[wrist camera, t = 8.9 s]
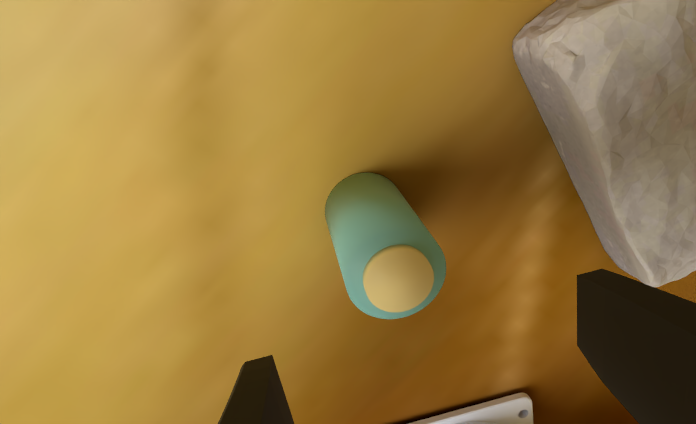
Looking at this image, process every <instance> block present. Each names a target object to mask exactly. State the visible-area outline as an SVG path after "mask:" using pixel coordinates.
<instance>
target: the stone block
mask: <svg viewBox="0 0 696 424" xmlns="http://www.w3.org/2000/svg"><path fill="white" fill-rule="evenodd" d="M512 48H513V54H514V59H515V61H516V64H517V66H518V68H519V71H520V73H521V76H522V78H523V80H524V82H525V84H526V86H527V88H528V90H529V92H530V94H531V96H532V98H533V100H534V102H535V104H536V106H537V108H538V111H539V113H540V115H541V117H542V119H543V121H544V123H545V125H546V127H547V129H548V131H549V133H550V135H551V138H552V140H553V142H554V144H555V146H556V148H557V151H558V153H559V155H560V157H561V159H562V161H563V162H564V164H565V167H566V169H567V171H568V173H569V175H570V178H571V180H572V182H573V184H574V186H575V188H576V190H577V192H578V194H579V196H580V198H581V200H582V202H583V203H584V206H585V209H586V211H587V213H588V215H589V217H590V219H591V222H592V224H593V226H594V228H595V231H596V233H597V235H598V237H599V239H600V241H601V243H602V245H603V248H604V250H605V251H606V252H607V253H608V255H609V256H610V257H611V258H612V260H613V261H614V262H615V263H616V265H617V266H618V267H619V268H621V269H622V270H624V271H626V272H627V273H629V274H630V275H632V276H634V277H636V278H638V279H639V280H640V281H641V282H643V283H644V284H646V285H649V286H652V287H660V286H662V285H664V284H666V283H668V282H671V281H676V280H679V279H681V278H683V277H685V276H687V275H688V274H690V273H691V272H693V271H695V270H696V0H557V1H556V2H554V3H553V4H551V5H550V6H549V7H547V8H546V9H545V10H544V11H542V12H541V13H540V14H539V15H538V16H537V17H536V18H534V19H533V20H532V21H530V22H529V23H527V24H526V25H525V26H524V27H523V28H522V29H521V30H520V32H519V33H518V34H517V35H516V36H515V38H514V39H513V46H512Z"/></svg>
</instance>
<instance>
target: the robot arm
mask: <svg viewBox="0 0 696 424" xmlns="http://www.w3.org/2000/svg"><path fill="white" fill-rule="evenodd" d="M577 345H578V347H579V348H580V350H581V351H582V353H583V354H584V356H585V357H586V359H587V360H588V362H589V363H590V365H591V366H592V368H593V369H594V371H595V372H596V373H597V375H598V376H599V378H600V379H601V380H602V382H603V383H604V384H605V385H606V387H607V388H608V389H609V390H610V391H611V392H612V393H613V395H614V396H615V397H616V398H617V399H618V400H619V401H620V403H621V404H622V405H623V406H624V407H625V408H626V409H627V410H628V412H629V413H630V414H631V415H632V416H633V417H634V418H635V419H636V420H637V422H638V423H639V424H696V303H694V302H691V301H689V300H686V299H683V298H681V297H678V296H675V295H673V294H670V293H667V292H665V291H662V290H659V289H657V288H654V287H652V286H649V285H646V284H644V283H641V282H638V281H636V280H633V279H630V278H628V277H625V276H622V275H619V274H616V273H613V272H610V271H607V270H604V269H599V270H595V271H592V272H588V273H584V274H580V275H577ZM218 424H294V421H293V418H292V415H291V412H290V409H289V406H288V403H287V400H286V397H285V394H284V390H283V387H282V384H281V381H280V378H279V375H278V372H277V369H276V366H275V363H274V359H273V356H272V355H270V356H266V357H263V358H259V359H255V360H251V361H247V362H245V363H244V365H243V366H242V367H241V370H240V373H239V375H238V378H237V381H236V383H235V386H234V388H233V391H232V393H231V395H230V398H229V400H228V402H227V405H226V407H225V409H224V412H223V414H222V416H221V418H220V420H219V422H218ZM408 424H533V405H532V400H531V399H530V397H529V396H528V395H527V394H526V393H517V394H513V395H510V396H506V397H502V398H499V399H495V400H491V401H488V402H484V403H481V404H477V405H473V406H470V407H466V408H462V409H459V410H455V411H452V412H448V413H444V414H441V415H437V416H434V417H430V418H426V419H423V420H419V421H415V422H412V423H408Z"/></svg>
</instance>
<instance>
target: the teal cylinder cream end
mask: <svg viewBox="0 0 696 424" xmlns="http://www.w3.org/2000/svg"><path fill="white" fill-rule="evenodd" d="M325 217H326V221H327V225H328V228H329V231H330V235H331V238H332V242H333V245H334V248H335V252H336V255H337V258H338V262H339V265H340V269H341V272H342V275H343V279H344V282H345V286H346V289H347V292H348V295H349V297H350V299H351V300H352V302H353V303H354V304H355V305H356V306H357V307H358V308H359V309H360V310H361V311H363V312H364V313H366V314H368V315H371V316H373V317H377V318H382V319H397V318H402V317H406V316H409V315H412V314H414V313H416V312H418V311H420V310H421V309H423V308H424V307H426V306H427V305H428V304H429V303H430V302H431V301H432V300H433V299H434V298H435V297H436V295H437V294H438V292H439V291H440V289H441V287H442V285H443V282H444V279H445V275H446V261H445V257H444V254H443V252H442V250H441V248H440V246H439V245H438V244H437V242H436V241H435V239H434V238H433V237H432V235H431V234H430V233H429V231H428V230H427V228H426V227H425V226H424V224H423V223H422V222H421V220H420V219H419V217H418V216H417V215H416V213H415V212H414V211H413V209H412V208H411V206H410V205H409V204H408V202H407V201H406V199H405V198H404V197H403V195H402V194H401V193H400V191H399V190H398V188H397V187H396V186H395V185H394V183H392V182H391V181H390V180H389V179H388V178H386V177H384V176H382V175H379V174H376V173H368V172H366V173H358V174H354V175H351V176H349V177H347V178H345V179H343V180H342V181H341V182H339V183H338V184H337V185H336V186H335V187H334V189H333V190H332V191H331V193H330V195H329V197H328V199H327V202H326V207H325Z"/></svg>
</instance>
